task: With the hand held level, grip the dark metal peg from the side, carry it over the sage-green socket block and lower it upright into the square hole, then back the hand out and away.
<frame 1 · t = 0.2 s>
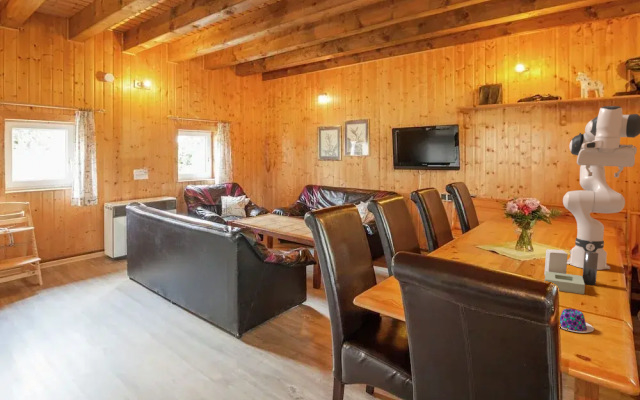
hand: (603, 176, 169), 47 cm above the table, tool pointing down, fingers open, 8 cm apart
purple patterned hat: (571, 327, 130), on the table
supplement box: (554, 278, 182), on the table
socket block: (563, 286, 169), on the table
peg: (588, 283, 174), on the table
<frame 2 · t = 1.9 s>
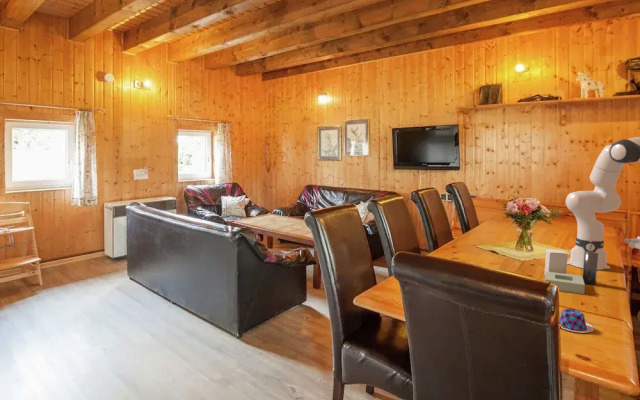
hand: (627, 242, 165), 20 cm above the table, tool horizontal, fingers open, 8 cm apart
nothing on the table moved.
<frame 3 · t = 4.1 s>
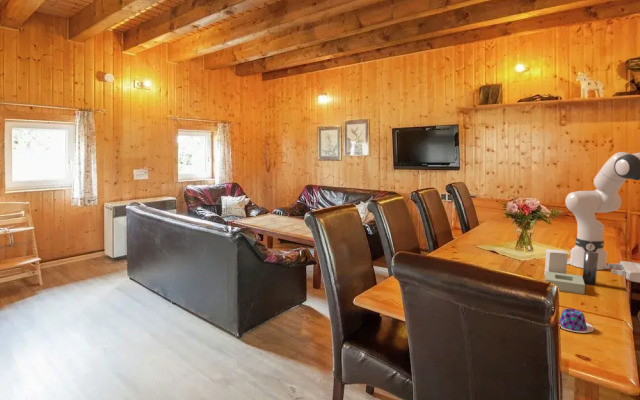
hand: (609, 268, 169), 8 cm above the table, tool horizontal, fingers open, 8 cm apart
nothing on the table moved.
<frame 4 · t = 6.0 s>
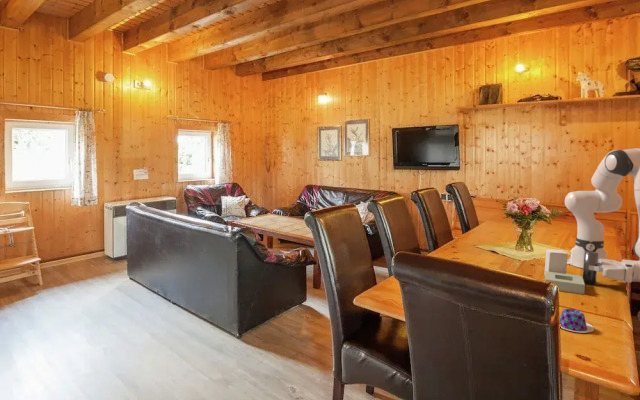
hand: (587, 265, 173), 8 cm above the table, tool horizontal, fingers closed on peg, 5 cm apart
peg: (588, 283, 174), on the table, touching gripper
everything else where it was.
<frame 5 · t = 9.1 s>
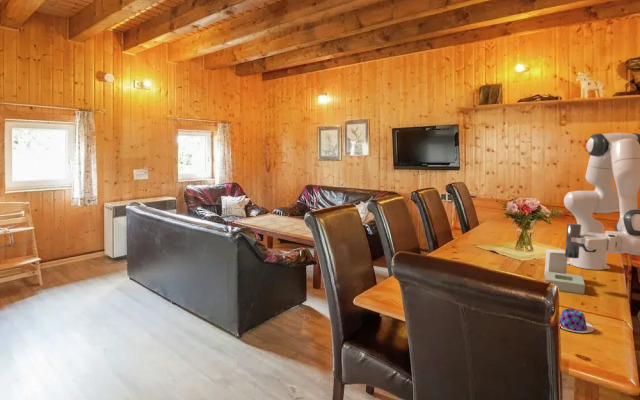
hand: (570, 238, 168), 21 cm above the table, tool horizontal, fingers closed on peg, 5 cm apart
peg: (571, 256, 168), point 13 cm above the table, touching gripper
everything else where it was.
when the fingers open (9 cm above the table, at t = 12.1 s): peg drops 1 cm, resting in socket block.
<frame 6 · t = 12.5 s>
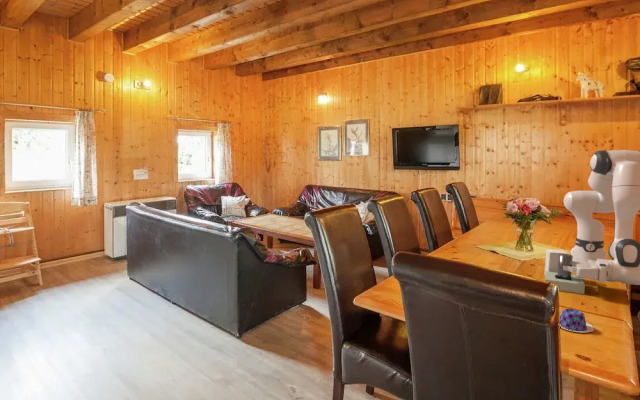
hand: (562, 265, 168), 9 cm above the table, tool horizontal, fingers open, 8 cm apart
peg: (563, 286, 169), resting in socket block
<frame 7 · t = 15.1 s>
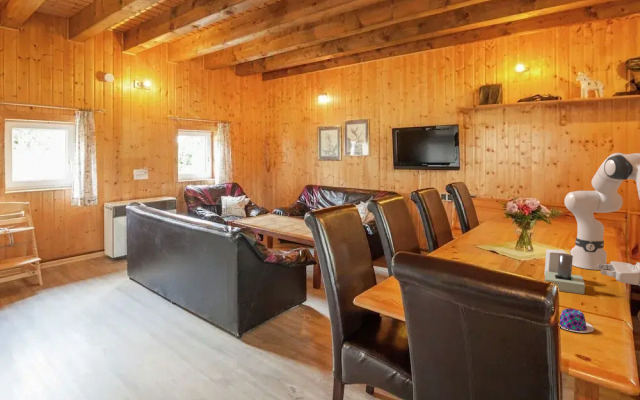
hand: (599, 268, 162), 10 cm above the table, tool horizontal, fingers open, 8 cm apart
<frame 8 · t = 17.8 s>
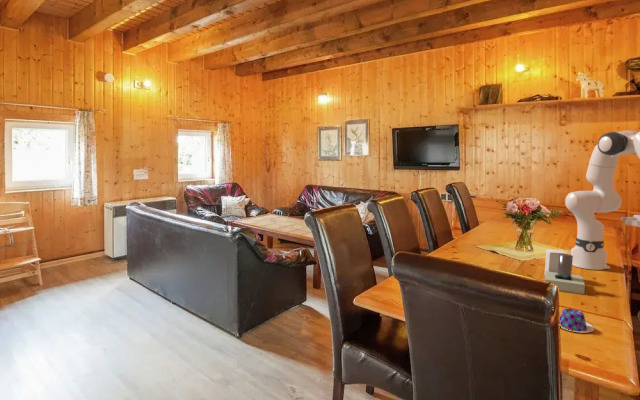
hand: (623, 220, 160), 30 cm above the table, tool horizontal, fingers open, 8 cm apart
at the end: peg 0.1 cm off-centre on the socket block, point 0.0 cm above the socket block's base; peg tilted 0°; the gripper is holding nothing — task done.
